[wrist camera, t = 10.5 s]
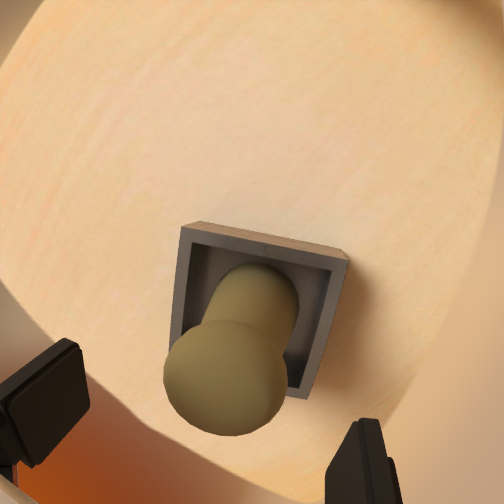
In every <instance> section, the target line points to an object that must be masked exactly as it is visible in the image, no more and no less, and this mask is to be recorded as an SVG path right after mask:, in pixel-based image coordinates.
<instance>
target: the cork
mask: <svg viewBox="0 0 504 504" xmlns="http://www.w3.org/2000/svg"><path fill="white" fill-rule="evenodd" d="M299 310H300V305H299V295H298V293H297V291H296V289H295V286H294V284H293V282H292V281H291V280H290V279H289V278H288V277H287V276H286V275H285V274H284V273H283V272H281V271H280V270H278V269H276V268H274V267H272V266H271V265H266V264H261V263H248V264H242V265H239V266H237V267H235V268H233V269H231V270H229V271H228V272H227V273H226V274H225V275H224V276H223V277H222V278H221V279H220V281H219V283H218V285H217V287H216V288H215V290H214V293H213V295H212V298H211V300H210V303H209V305H208V307H207V310H206V312H205V315H204V317H203V320H202V322H201V325H198V326H196V327H193V328H191V329H189V330H188V331H187V332H186V333H185V334H184V335H182V336H181V337H180V338H179V339H178V340H177V341H176V342H175V343H174V344H173V346H172V348H171V350H170V352H169V354H168V356H167V358H166V361H165V365H164V377H163V382H164V386H165V389H166V393H167V396H168V399H169V402H170V403H171V405H172V406H173V407H174V409H175V410H176V412H177V413H178V414H179V415H180V416H181V417H182V418H184V419H185V420H186V421H187V422H188V423H189V424H191V425H193V426H195V427H197V428H199V429H201V430H203V431H205V432H208V433H212V434H216V435H220V436H239V435H244V434H248V433H251V432H253V431H255V430H257V429H258V428H260V427H262V426H264V425H265V424H267V423H269V422H270V421H271V420H272V418H273V417H274V416H275V415H276V414H277V412H278V411H279V410H280V408H281V406H282V404H283V402H284V398H285V395H286V392H287V386H288V379H287V370H286V364H285V362H284V359H283V357H282V356H283V354H284V351H285V349H286V346H287V344H288V342H289V339H290V337H291V334H292V332H293V329H294V327H295V324H296V321H297V318H298V314H299Z"/></svg>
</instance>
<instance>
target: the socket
mask: <svg viewBox="0 0 504 504" xmlns="http://www.w3.org/2000/svg"><path fill="white" fill-rule="evenodd" d="M348 261H349V260H348V258H347V257H346V256H345V254H344V253H343V252H342V250H341V249H337V248H333V247H328V246H323V245H318V244H313V243H309V242H304V241H299V240H294V239H289V238H284V237H279V236H274V235H269V234H264V233H259V232H254V231H249V230H244V229H238V228H233V227H228V226H223V225H218V224H212V223H207V222H202V221H198V222H194V223H191V224H188V225H184V226H181V233H180V240H179V248H178V257H177V265H176V274H175V283H174V293H173V304H172V315H171V327H170V340H169V352H170V350H171V348H172V346H173V344H174V343H175V342H176V341H177V340H178V339H179V338H180V337H181V336H182V335H184V334H185V333H186V332H187V331H188V330H189V329H191V328H193V327H196V326H198V325H201V322H202V320H203V317H204V315H205V312H206V310H207V307H208V305H209V303H210V300H211V298H212V295H213V293H214V290H215V288H216V287H217V285H218V283H219V281H220V279H221V278H222V277H223V276H224V275H225V274H226V273H227V272H228V271H229V270H231V269H233V268H235V267H237V266H239V265H242V264H248V263H261V264H266V265H271V266H272V267H274V268H276V269H278V270H280V271H281V272H283V273H284V274H285V275H286V276H287V277H288V278H289V279H290V280H291V281H292V282H293V284H294V286H295V289H296V291H297V293H298V295H299V305H300V310H299V314H298V318H297V321H296V324H295V327H294V329H293V332H292V334H291V337H290V339H289V342H288V344H287V346H286V349H285V351H284V354H283V356H282V357H283V359H284V362H285V364H286V370H287V379H288V386H287V392H286V395H285V396H289V397H295V398H301V399H308V397H309V394H310V391H311V388H312V385H313V382H314V379H315V376H316V373H317V370H318V367H319V364H320V361H321V358H322V355H323V352H324V348H325V345H326V342H327V339H328V335H329V332H330V329H331V325H332V322H333V318H334V315H335V311H336V307H337V304H338V300H339V296H340V293H341V289H342V285H343V281H344V277H345V273H346V269H347V265H348Z"/></svg>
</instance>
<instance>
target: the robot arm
mask: <svg viewBox="0 0 504 504" xmlns="http://www.w3.org/2000/svg"><path fill="white" fill-rule="evenodd" d="M89 407H90V399H89V393H88V388H87V382H86V375H85V369H84V361H83V354H82V350H81V349H80V347H79V345H78V344H77V343H76V342H73V341H71V340H69V339H67V338H62V339H61V340H59V341H58V342H56V343H55V344H54V345H52V346H51V347H49V348H48V349H47V350H45V351H44V352H43V353H41V354H40V355H39V356H37V357H36V358H34V359H33V360H32V361H30V362H29V363H28V364H26V365H25V366H24V367H22V368H21V369H20V370H18V371H17V372H16V373H14V374H13V375H12V376H10V377H9V378H8V379H6V380H5V381H4V382H3V383H1V384H0V504H39V503H38V502H36V501H34V500H33V499H32V498H30V497H29V496H28V495H26V494H25V493H24V492H22V491H21V490H20V489H19V484H18V471H17V463H18V462H19V461H20V460H21V461H22V462H23V463H25V464H26V465H27V466H29V467H30V468H31V469H32V468H33V467H34V466H35V465H39V464H41V463H42V462H43V461H44V460H45V458H46V457H47V456H48V455H49V454H50V453H51V452H52V450H53V449H54V448H55V447H56V446H57V445H58V443H60V441H61V440H62V439H63V438H64V437H65V436H66V434H67V433H68V432H69V431H70V430H71V429H72V428H73V427H74V426H75V425H76V423H77V422H78V421H79V420H80V419H81V418H82V417H83V416H84V414H85V413H86V412H87V411H88V410H89ZM325 504H403V502H402V497H401V492H400V487H399V482H398V477H397V473H396V468H395V464H394V461H393V459H392V458H391V457H387V453H386V449H385V444H384V440H383V436H382V431H381V427H380V423H379V420H378V419H371V418H360V419H359V420H358V422H356V421H354V422H353V423H352V425H351V427H350V429H349V431H348V433H347V434H346V436H345V438H344V440H343V442H342V444H341V445H340V447H339V449H338V451H337V453H336V454H335V456H334V458H333V459H332V461H331V463H330V465H329V466H328V468H327V470H326V474H325Z"/></svg>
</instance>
